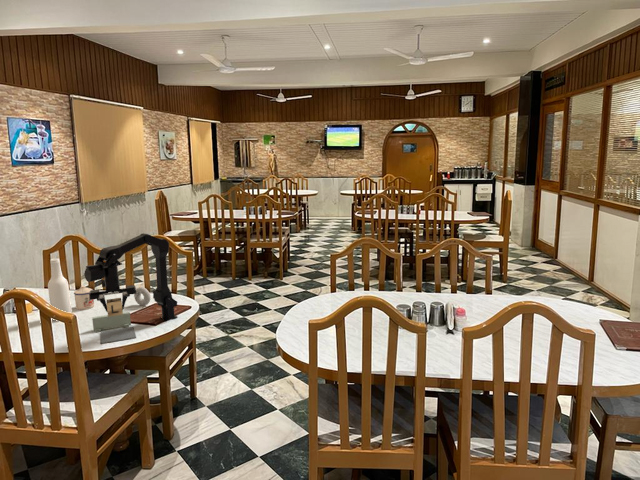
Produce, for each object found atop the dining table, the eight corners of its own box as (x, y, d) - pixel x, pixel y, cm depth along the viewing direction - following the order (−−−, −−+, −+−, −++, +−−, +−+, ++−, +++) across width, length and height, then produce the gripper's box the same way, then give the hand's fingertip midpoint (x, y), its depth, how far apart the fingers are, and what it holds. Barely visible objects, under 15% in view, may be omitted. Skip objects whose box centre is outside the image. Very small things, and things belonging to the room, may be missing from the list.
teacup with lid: (85, 310, 247) (83, 289, 244) (71, 309, 249) (69, 288, 247) (102, 303, 258) (100, 282, 256) (88, 302, 260) (86, 281, 258)
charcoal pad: (136, 338, 209) (136, 337, 209) (101, 344, 204) (101, 342, 204) (133, 327, 222) (133, 326, 222) (100, 332, 216) (100, 331, 216)
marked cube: (122, 314, 210) (121, 301, 208) (108, 316, 207) (106, 303, 206) (122, 310, 215) (121, 297, 214) (107, 312, 213) (106, 299, 212)
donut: (152, 305, 253) (151, 287, 251) (148, 307, 250) (146, 289, 248) (138, 303, 257) (136, 285, 255) (133, 305, 254) (131, 287, 252)
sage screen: (131, 326, 223) (130, 314, 222) (93, 332, 217) (92, 320, 216) (130, 322, 229) (129, 310, 228) (93, 328, 222) (92, 315, 221)
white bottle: (53, 322, 231) (45, 262, 225) (51, 317, 238) (43, 258, 232) (73, 318, 236) (66, 259, 230) (70, 313, 243) (63, 256, 237)
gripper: (133, 269, 219) (136, 302, 222) (88, 275, 211) (92, 308, 215) (134, 275, 209) (138, 309, 212) (87, 281, 201) (91, 316, 205)
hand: (115, 310), depth 211 cm, fingers closed on marked cube, 6 cm apart
